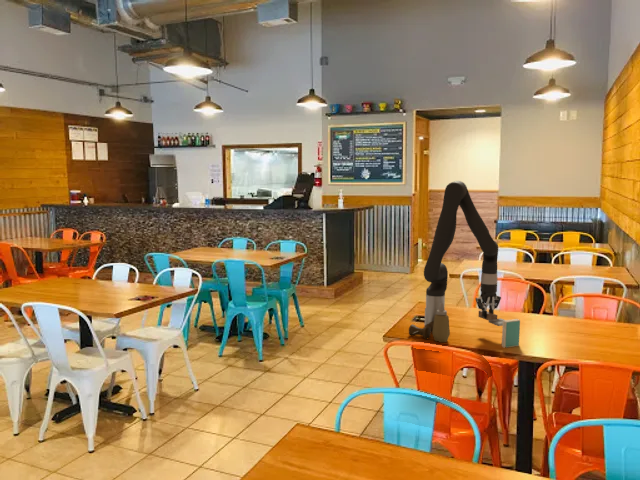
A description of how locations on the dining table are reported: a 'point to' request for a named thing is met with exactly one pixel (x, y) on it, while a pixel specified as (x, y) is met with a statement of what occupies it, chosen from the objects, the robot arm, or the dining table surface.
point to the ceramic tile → (510, 333)
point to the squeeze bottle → (441, 325)
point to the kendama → (421, 330)
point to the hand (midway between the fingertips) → (487, 317)
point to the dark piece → (492, 318)
